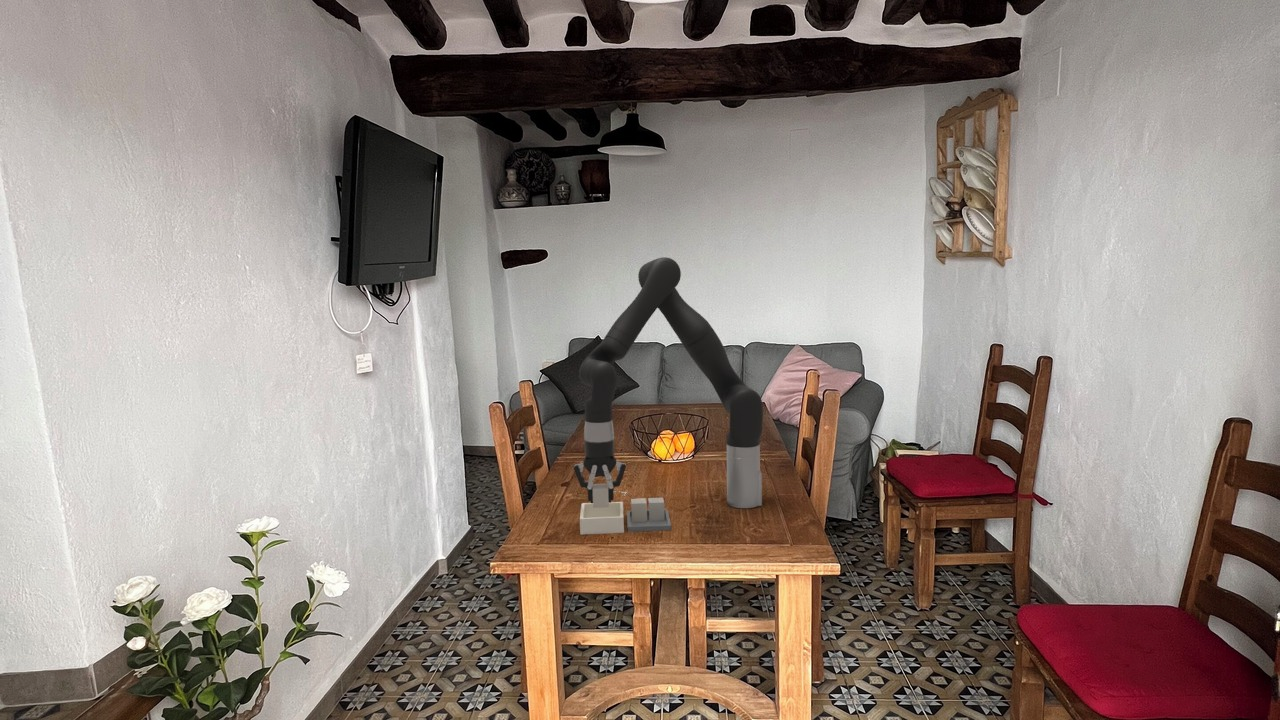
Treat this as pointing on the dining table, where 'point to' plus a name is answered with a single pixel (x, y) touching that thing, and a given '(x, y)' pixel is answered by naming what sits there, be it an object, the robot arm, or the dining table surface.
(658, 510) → the stone
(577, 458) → the dining table surface
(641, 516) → the stone
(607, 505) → the stone
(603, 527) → the cream dish
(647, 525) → the slate tray
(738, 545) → the dining table surface
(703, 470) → the dining table surface
